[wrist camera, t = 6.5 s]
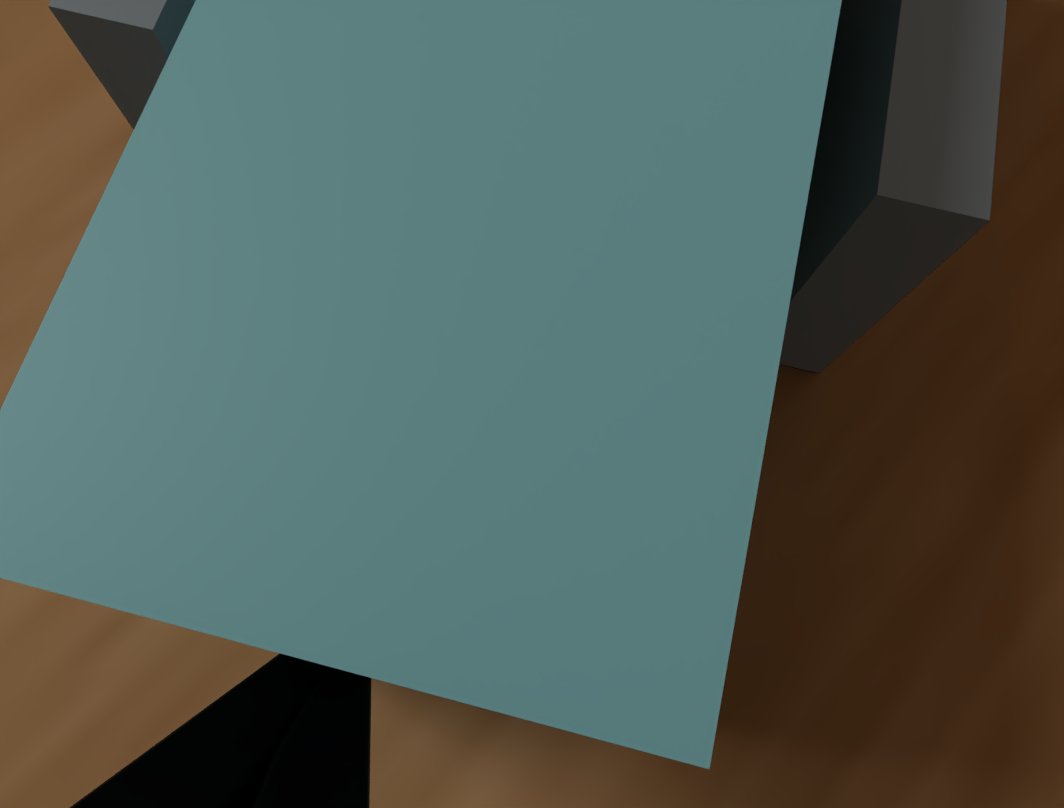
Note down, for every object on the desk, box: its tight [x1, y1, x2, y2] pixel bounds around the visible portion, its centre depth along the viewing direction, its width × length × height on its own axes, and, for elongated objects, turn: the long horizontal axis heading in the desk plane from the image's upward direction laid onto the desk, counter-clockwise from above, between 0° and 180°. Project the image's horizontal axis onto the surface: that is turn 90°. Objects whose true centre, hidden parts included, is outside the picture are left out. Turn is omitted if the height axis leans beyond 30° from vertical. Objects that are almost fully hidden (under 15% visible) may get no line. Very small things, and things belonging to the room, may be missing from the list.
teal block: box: [0, 0, 842, 769], centre depth 13 cm, size 16×6×9 cm, turn 166°
